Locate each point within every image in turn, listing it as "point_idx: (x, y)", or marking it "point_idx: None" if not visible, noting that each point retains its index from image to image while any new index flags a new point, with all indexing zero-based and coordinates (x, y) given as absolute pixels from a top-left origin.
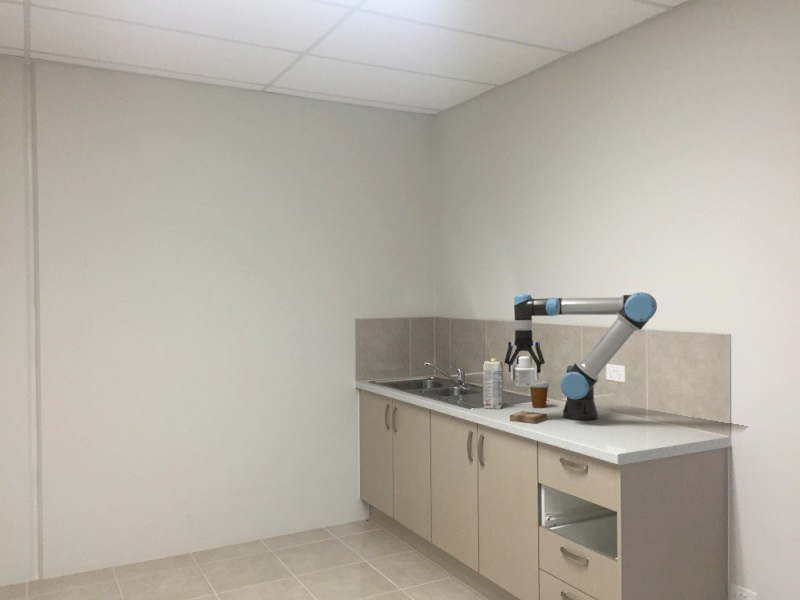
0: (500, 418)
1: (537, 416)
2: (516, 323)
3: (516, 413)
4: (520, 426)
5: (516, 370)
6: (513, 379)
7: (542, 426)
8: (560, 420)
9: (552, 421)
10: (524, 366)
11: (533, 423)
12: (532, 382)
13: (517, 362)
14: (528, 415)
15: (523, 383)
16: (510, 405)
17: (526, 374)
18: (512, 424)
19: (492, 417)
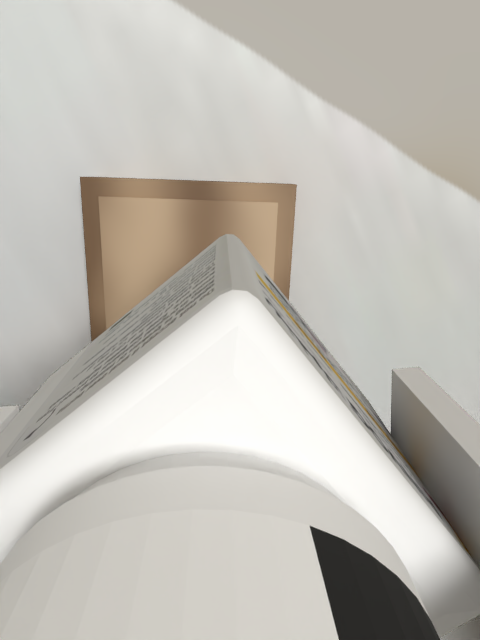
0: (383, 233)
1: (95, 243)
2: None
3: (273, 258)
4: (130, 14)
5: (340, 395)
6: (392, 404)
7: (3, 111)
8: (23, 374)
9: (45, 319)
10: (94, 490)
11: (106, 177)
12: (61, 371)
13: (400, 620)
14: (160, 228)
15: (168, 285)
16: (475, 628)
17: (91, 369)
18: (216, 59)
19: (446, 238)
